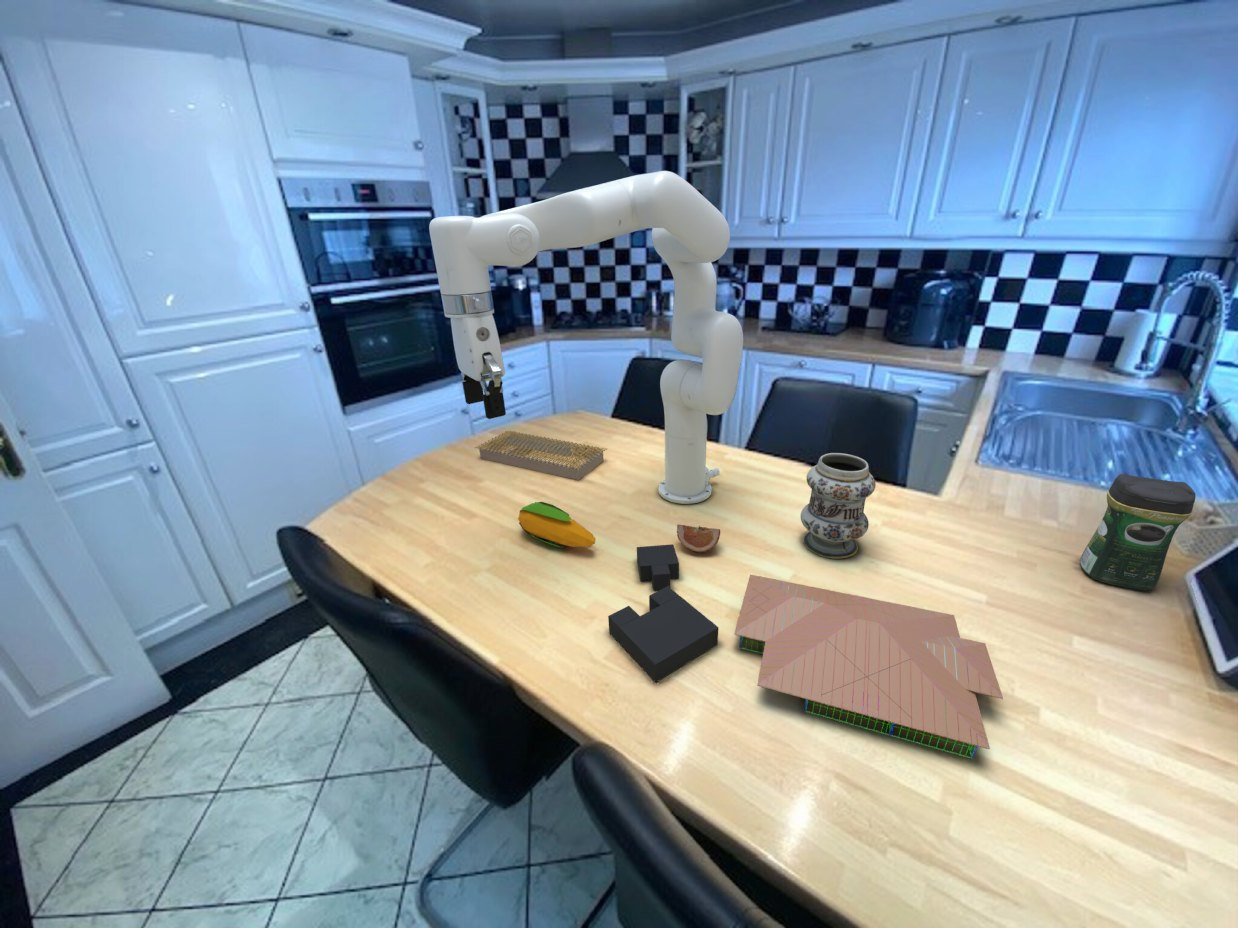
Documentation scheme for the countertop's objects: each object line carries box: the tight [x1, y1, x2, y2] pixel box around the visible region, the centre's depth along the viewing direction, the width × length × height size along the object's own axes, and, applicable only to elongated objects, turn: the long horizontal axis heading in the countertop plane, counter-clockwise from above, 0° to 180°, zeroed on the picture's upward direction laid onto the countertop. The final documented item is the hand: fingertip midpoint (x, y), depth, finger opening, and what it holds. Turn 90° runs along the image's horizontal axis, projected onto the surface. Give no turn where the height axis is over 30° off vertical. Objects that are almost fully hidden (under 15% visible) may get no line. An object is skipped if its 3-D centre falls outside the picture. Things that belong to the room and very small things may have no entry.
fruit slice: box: [676, 524, 721, 553], centre depth 99 cm, size 8×7×5 cm
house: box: [733, 573, 1004, 760], centre depth 71 cm, size 23×33×8 cm
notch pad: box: [607, 586, 719, 683], centre depth 78 cm, size 12×12×4 cm
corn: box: [517, 501, 596, 549], centre depth 103 cm, size 7×8×20 cm
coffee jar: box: [1079, 473, 1196, 591], centre depth 84 cm, size 10×8×19 cm
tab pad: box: [636, 543, 680, 592], centre depth 92 cm, size 7×9×4 cm
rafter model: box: [474, 430, 608, 481], centre depth 140 cm, size 35×14×6 cm, turn 61°
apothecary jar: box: [800, 452, 877, 560], centre depth 96 cm, size 12×12×18 cm
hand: (485, 409), depth 86 cm, fingers open, 9 cm apart
